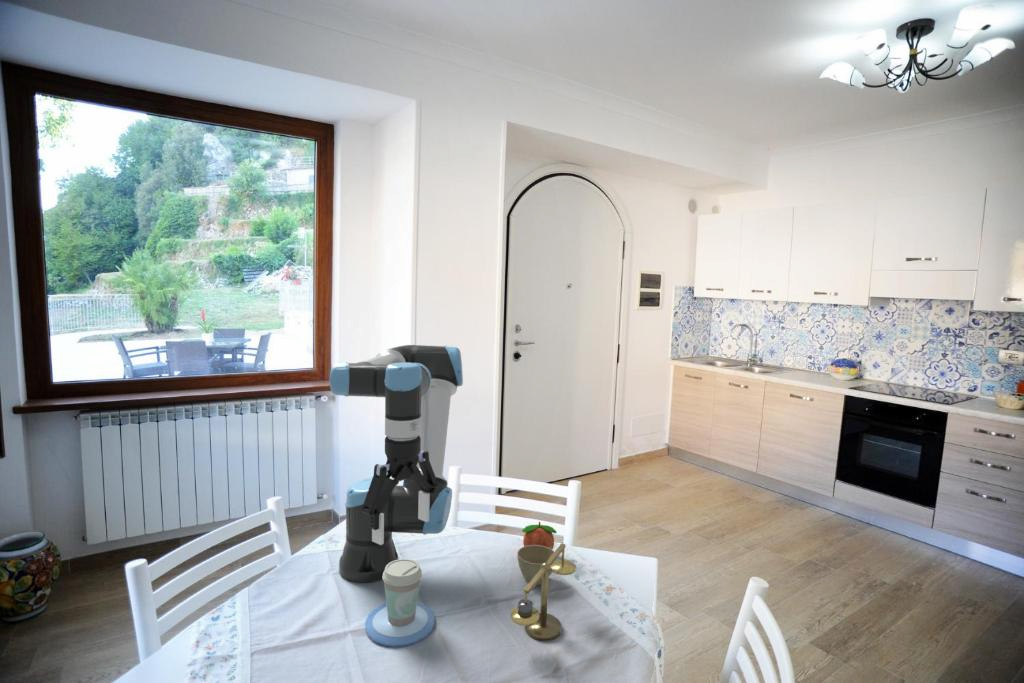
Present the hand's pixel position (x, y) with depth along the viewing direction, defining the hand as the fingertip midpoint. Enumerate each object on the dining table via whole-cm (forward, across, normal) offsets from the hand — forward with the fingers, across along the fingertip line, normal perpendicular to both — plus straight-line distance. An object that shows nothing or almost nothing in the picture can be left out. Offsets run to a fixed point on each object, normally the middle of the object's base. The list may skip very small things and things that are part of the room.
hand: (401, 530), depth 121 cm
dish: (+22, 0, 0) cm, 22 cm away
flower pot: (+22, +34, -14) cm, 43 cm away
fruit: (+22, +45, -8) cm, 50 cm away
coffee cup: (+21, 0, 0) cm, 21 cm away
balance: (+22, +18, -26) cm, 38 cm away
